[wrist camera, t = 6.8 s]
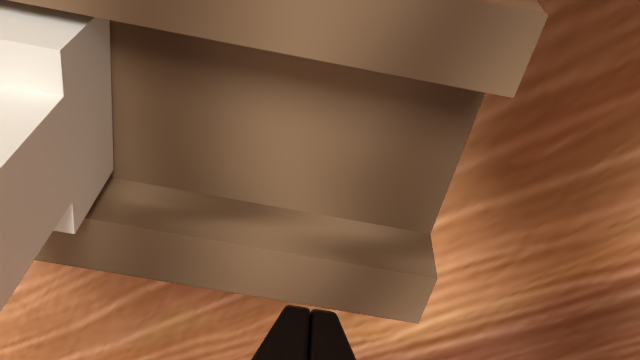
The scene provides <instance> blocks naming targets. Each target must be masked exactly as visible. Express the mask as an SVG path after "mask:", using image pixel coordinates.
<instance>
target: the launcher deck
mask: <svg viewBox="0 0 640 360" xmlns="http://www.w3.org/2000/svg"><path fill="white" fill-rule="evenodd" d="M9 1H14V2H19V3H24V4H30V5H35V6H40V7H45V8H50V9H55V10H61V11H66V12H71V13H76V14H81V15H86V16H92V17H97V18H102V19H107V20H110V56H111V94H112V131H113V169H114V170H113V171H112V173H111V175H110V176H109V178H108V180H107V181H106V183H105V185H104V186H103V188H102V190H101V191H100V193H99V195H98V196H97V198H96V200H95V201H94V203H93V205H92V206H91V208H90V210H89V211H88V213H87V215H86V216H85V218H84V220H83V221H82V223H81V225H80V226H79V228H78V230H77V231H76V233H75V234H71V233H65V232H59V231H53V232H52V233H51V235H50V236H49V238H48V239H47V241H46V242H45V244H44V246H43V247H42V249H41V250H40V252H39V253H38V255H37V256H36V258H35V259H34V260H38V261H44V262H51V263H57V264H63V265H69V266H75V267H81V268H87V269H93V270H99V271H105V272H111V273H117V274H123V275H129V276H135V277H141V278H147V279H153V280H159V281H165V282H171V283H177V284H183V285H189V286H195V287H201V288H207V289H213V290H219V291H225V292H231V293H237V294H243V295H249V296H255V297H261V298H267V299H273V300H279V301H285V302H291V303H297V304H303V305H309V306H315V307H321V308H327V309H333V310H339V311H345V312H351V313H357V314H363V315H369V316H375V317H381V318H387V319H393V320H399V321H405V322H411V323H417V324H418V323H419V321H420V318H421V316H422V314H423V311H424V309H425V306H426V304H427V302H428V299H429V297H430V295H431V292H432V290H433V287H434V285H435V283H436V280H437V274H436V267H435V261H434V255H433V248H432V242H431V236H430V233H431V231H432V228H433V226H434V223H435V220H436V218H437V215H438V213H439V210H440V208H441V205H442V202H443V200H444V197H445V195H446V192H447V190H448V187H449V184H450V182H451V179H452V177H453V174H454V172H455V169H456V166H457V164H458V161H459V159H460V156H461V154H462V151H463V148H464V146H465V143H466V141H467V138H468V136H469V133H470V130H471V128H472V125H473V123H474V120H475V118H476V115H477V112H478V110H479V107H480V105H481V102H482V100H483V97H484V94H485V93H489V94H495V95H500V96H505V97H510V98H514V96H515V94H516V91H517V89H518V87H519V84H520V82H521V79H522V77H523V75H524V72H525V70H526V68H527V65H528V63H529V61H530V58H531V56H532V53H533V51H534V49H535V46H536V44H537V42H538V39H539V37H540V35H541V32H542V30H543V27H544V25H545V23H546V20H547V18H548V15H547V13H546V12H545V11H544V9H543V8H542V7H541V6H540V4H539V3H538V2H537V0H9Z"/></svg>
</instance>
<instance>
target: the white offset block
mask: <svg viewBox="0 0 640 360" xmlns="http://www.w3.org/2000/svg"><path fill="white" fill-rule="evenodd" d="M113 170H114V169H113V131H112V94H111V56H110V20H107V19H102V18H97V17H92V16H86V15H81V14H76V13H71V12H66V11H61V10H55V9H50V8H45V7H40V6H35V5H30V4H24V3H19V2H14V1H9V0H0V312H1V310H2V308H3V307H4V305H5V304H6V302H7V301H8V299H9V298H10V296H11V295H12V293H13V292H14V290H15V288H16V287H17V285H18V284H19V282H20V281H21V279H22V278H23V276H24V275H25V273H26V272H27V270H28V269H29V267H30V265H31V264H32V262H33V261H34V259H35V258H36V256H37V255H38V253H39V252H40V250H41V249H42V247H43V246H44V244H45V242H46V241H47V239H48V238H49V236H50V235H51V233H52V232H53V231H59V232H65V233H71V234H75V233H76V231H77V230H78V228H79V226H80V225H81V223H82V221H83V220H84V218H85V216H86V215H87V213H88V211H89V210H90V208H91V206H92V205H93V203H94V201H95V200H96V198H97V196H98V195H99V193H100V191H101V190H102V188H103V186H104V185H105V183H106V181H107V180H108V178H109V176H110V175H111V173H112V171H113Z"/></svg>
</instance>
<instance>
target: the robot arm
mask: <svg viewBox="0 0 640 360" xmlns="http://www.w3.org/2000/svg"><path fill="white" fill-rule="evenodd" d="M251 360H356V358H355V356H354V354H353V351H352V349H351V347H350V344H349V342H348V340H347V337H346V335H345V333H344V330H343V328H342V326H341V323H340V321H339V319H338V317H337V315H336V314H335V313H334V312H331V311H325V310H319V309H314V310H312V311H311V312H310V310H309V309H308V308H306V307H300V306H294V305H287V306H286V307H285V308H284V309H283V311H282V312H281V314H280V315H279V317H278V318H277V320H276V322H275V323H274V325H273V326H272V328H271V329H270V331H269V333H268V334H267V336H266V337H265V339H264V341H263V342H262V344H261V345H260V347H259V348H258V350H257V352H256V353H255V355H254V356H253V358H252V359H251Z"/></svg>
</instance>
